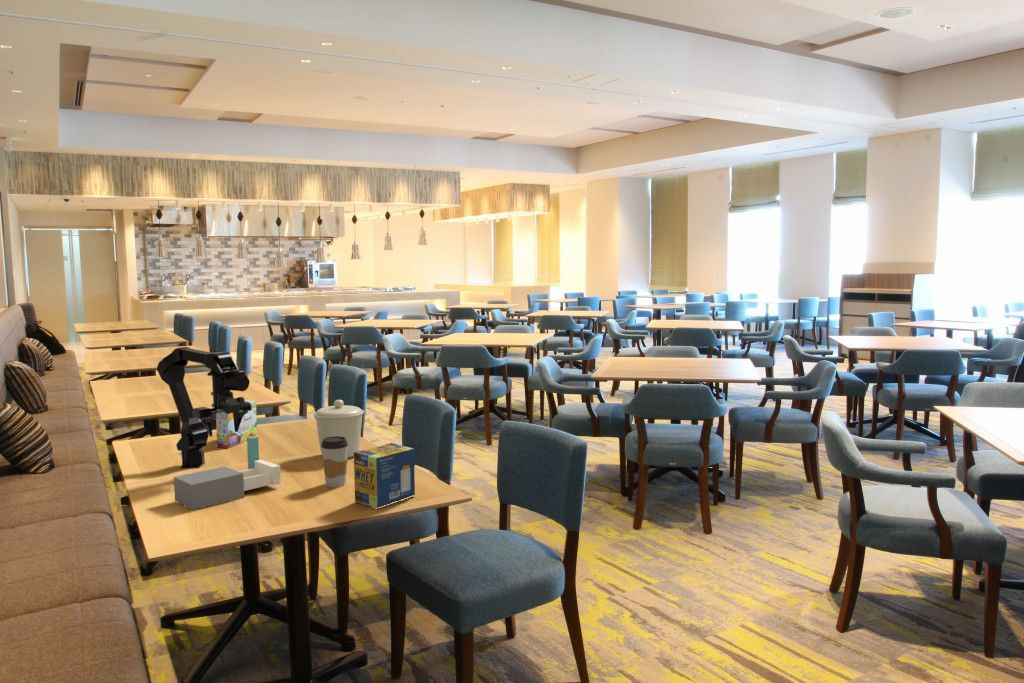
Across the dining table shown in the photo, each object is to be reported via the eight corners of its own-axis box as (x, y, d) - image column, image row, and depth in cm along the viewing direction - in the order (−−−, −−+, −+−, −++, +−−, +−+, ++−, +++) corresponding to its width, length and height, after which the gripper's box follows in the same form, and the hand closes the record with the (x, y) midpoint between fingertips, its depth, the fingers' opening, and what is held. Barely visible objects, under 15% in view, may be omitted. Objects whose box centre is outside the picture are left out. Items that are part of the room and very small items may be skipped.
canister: (311, 453, 289) (309, 397, 287) (358, 447, 297) (357, 393, 294) (320, 464, 273) (318, 406, 271) (370, 459, 280) (368, 401, 278)
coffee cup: (353, 482, 252) (352, 437, 250) (340, 489, 244) (338, 442, 242) (331, 479, 255) (330, 435, 253) (317, 486, 247) (315, 440, 245)
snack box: (229, 448, 297) (227, 410, 295) (216, 448, 298) (214, 409, 296) (258, 436, 318) (256, 400, 316) (245, 435, 319) (244, 399, 317)
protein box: (354, 502, 231) (352, 452, 229) (393, 490, 242) (392, 442, 241) (376, 510, 224) (375, 457, 222) (416, 497, 236) (415, 447, 234)
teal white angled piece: (229, 495, 233) (227, 453, 231) (205, 485, 244) (203, 445, 242) (280, 483, 245) (278, 443, 244) (255, 474, 256) (253, 435, 255)
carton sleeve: (193, 510, 225) (191, 484, 224) (175, 501, 233) (173, 477, 232) (244, 497, 236) (243, 473, 235) (225, 489, 244) (224, 466, 243)
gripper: (206, 395, 250) (208, 442, 252) (258, 388, 264) (260, 433, 265) (190, 391, 258) (193, 437, 259) (242, 384, 271) (244, 428, 273)
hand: (223, 434), depth 264 cm, fingers open, 9 cm apart
